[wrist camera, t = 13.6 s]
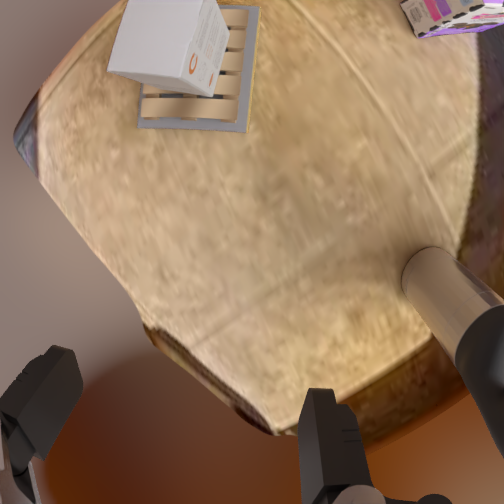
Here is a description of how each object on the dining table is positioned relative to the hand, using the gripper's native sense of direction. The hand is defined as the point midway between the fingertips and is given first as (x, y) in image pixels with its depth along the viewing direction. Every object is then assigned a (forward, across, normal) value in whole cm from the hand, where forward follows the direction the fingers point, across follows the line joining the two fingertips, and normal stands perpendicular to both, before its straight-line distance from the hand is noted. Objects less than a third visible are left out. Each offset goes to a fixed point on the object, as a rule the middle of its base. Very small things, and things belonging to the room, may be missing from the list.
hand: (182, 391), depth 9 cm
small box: (+28, +7, -16) cm, 33 cm away
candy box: (+32, -25, -31) cm, 51 cm away
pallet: (+29, +7, -16) cm, 34 cm away
